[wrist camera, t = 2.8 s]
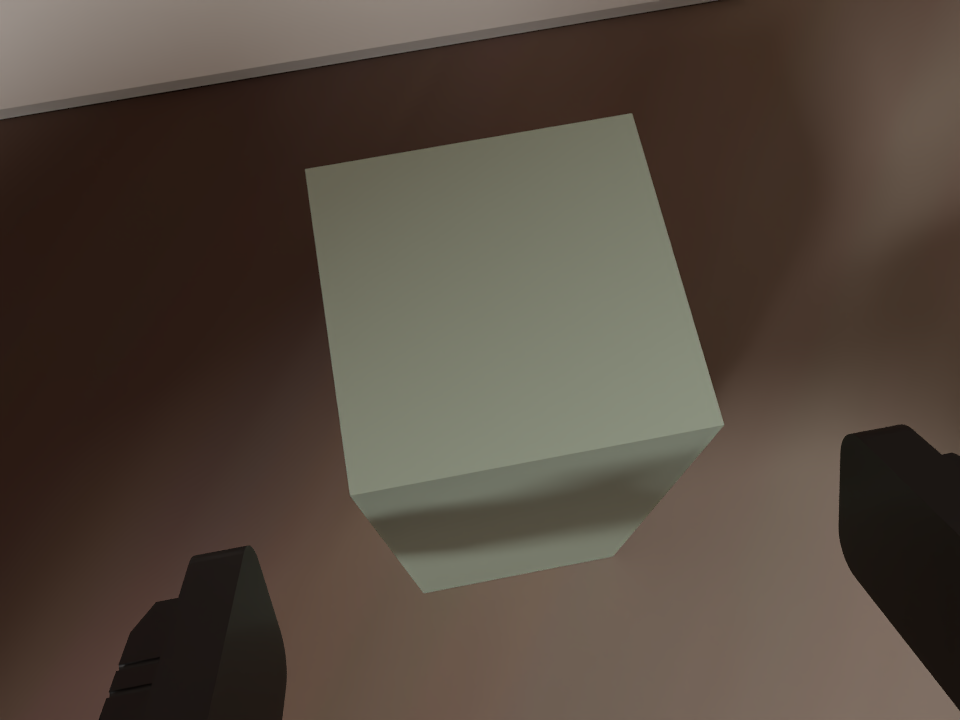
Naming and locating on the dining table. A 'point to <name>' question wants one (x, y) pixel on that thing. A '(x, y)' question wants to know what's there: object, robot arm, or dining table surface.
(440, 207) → the sage pillar
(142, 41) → the flat white board
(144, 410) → the dining table surface
